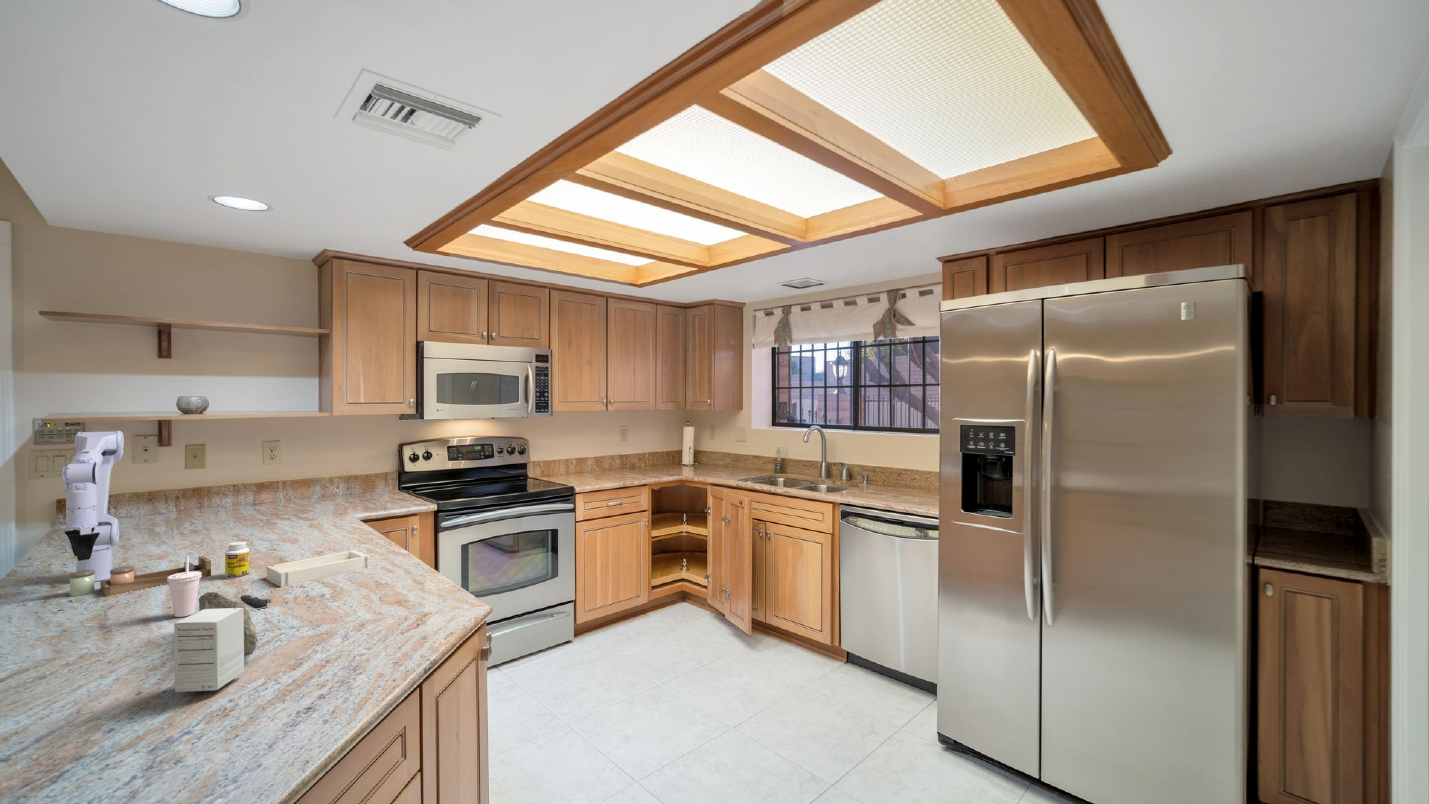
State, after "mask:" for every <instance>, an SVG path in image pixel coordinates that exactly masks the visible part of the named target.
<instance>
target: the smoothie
mask: <svg viewBox="0 0 1429 804" xmlns="http://www.w3.org/2000/svg"><path fill="white" fill-rule="evenodd" d="M185 562H186V572H183V573H177V574H174V575H171V576H168V577H167V582H169V584H168V586H169V591H170V597H171V602H172V603H171V604H172V607H173V613H174V617H176V618H183V617H189V616H191V615H193V614H195V613H196V607H197V601H198V600H197V599H198V593H199V588H200V587H199V586H200V579H201V578H200V577H202V573H201V572H199V571H190V572H189V562H190V556H187V555H186V556H185Z"/></svg>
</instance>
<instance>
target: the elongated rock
mask: <svg viewBox="0 0 1429 804" xmlns="http://www.w3.org/2000/svg"><path fill="white" fill-rule="evenodd" d="M198 604H199V605H198V608H199V610H198V612H199V611H201V610H203V609H221V608H243V612H244V657H247V656H251V655H252V654H254V651H255V650H256V648H257V642H258V640H259V639H258V637H257V636H258V635H257V631H256V625H255V623H254V622H253V620H252V617H251V615H250V611H249V610H247V609H246V607H245V606H243V605H242V604H243V603H242V601H238V600H232V599H230V598H229V597H226V596H225V595H223V594H220V593H218V592H217V591H211V592H209V591H207V592H205V593H204V594H202V595H200V597H198Z"/></svg>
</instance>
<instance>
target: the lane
mask: <svg viewBox="0 0 1429 804" xmlns="http://www.w3.org/2000/svg"><path fill="white" fill-rule="evenodd" d="M197 559H198V564H196V565H195V564H193V565H194V567H196V571H199V572H201V573H202V577H200V579H202V578H208V577H211V576H212V560H211V559H210V558H207V557H205V556H204V555H199V556H198V557H197ZM183 572H184V566H183V567H177V568H171V569H165V570H159V571H154V572H153V571H152V572H148V573H147V572H146V573H143V574H142V573H141V574H136V575H135V574H134V582H130V583H124V584H118V585H113V586H110V579H107V580H101V581H99V582H100V584H99V585H100V588H99V589H100V592H101V593H102V594H103V595H104V597H106V598H107V597H112V595H113V596H117V595H116V594H118V595H123V594H127V593H126V592H128V593H131V592H130V591H133V592H137V590H138V591H142V590H141V589H143V590H146V589H145V588H148V589H153V588H157V587H156V586H158V587H161V586H160V585H163V586H168V585H169V582H167V577H168V576H171V575H174V574H177V573H183ZM167 584H168V585H167ZM152 587H153V588H152ZM122 593H123V594H122Z"/></svg>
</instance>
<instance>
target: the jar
mask: <svg viewBox="0 0 1429 804" xmlns="http://www.w3.org/2000/svg"><path fill="white" fill-rule="evenodd" d="M94 574H95V570H82V571H73V572H71V573H69V574H68V578H69V597H70V598H71V597H72V598H75V597H77V598H78V597H83V596H88V595H91V594H94V593H95V588H96V587H95V582H96V581H95V578H94Z"/></svg>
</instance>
